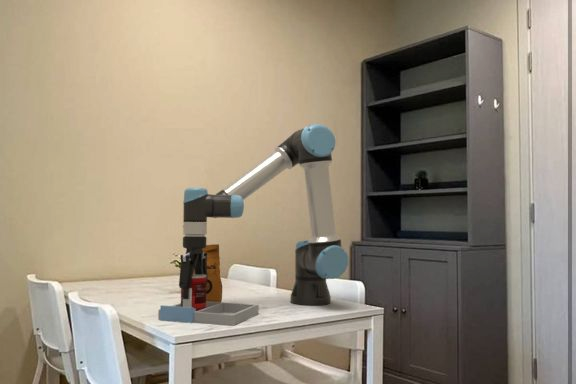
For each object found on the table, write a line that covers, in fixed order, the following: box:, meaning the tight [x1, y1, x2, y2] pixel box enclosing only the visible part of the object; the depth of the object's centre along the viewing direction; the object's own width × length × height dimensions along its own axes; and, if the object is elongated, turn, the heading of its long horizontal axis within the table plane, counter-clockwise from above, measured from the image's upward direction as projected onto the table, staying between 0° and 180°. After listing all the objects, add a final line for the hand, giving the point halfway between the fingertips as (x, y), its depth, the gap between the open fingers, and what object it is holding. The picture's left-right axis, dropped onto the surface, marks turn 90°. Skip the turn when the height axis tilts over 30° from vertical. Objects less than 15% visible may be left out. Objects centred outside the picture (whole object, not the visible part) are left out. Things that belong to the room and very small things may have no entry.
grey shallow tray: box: [157, 301, 259, 327], centre depth 164 cm, size 25×21×4 cm
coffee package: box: [193, 243, 223, 302], centre depth 186 cm, size 10×12×22 cm
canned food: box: [180, 274, 206, 312], centre depth 167 cm, size 8×8×11 cm
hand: (193, 307), depth 167 cm, fingers closed on canned food, 8 cm apart
